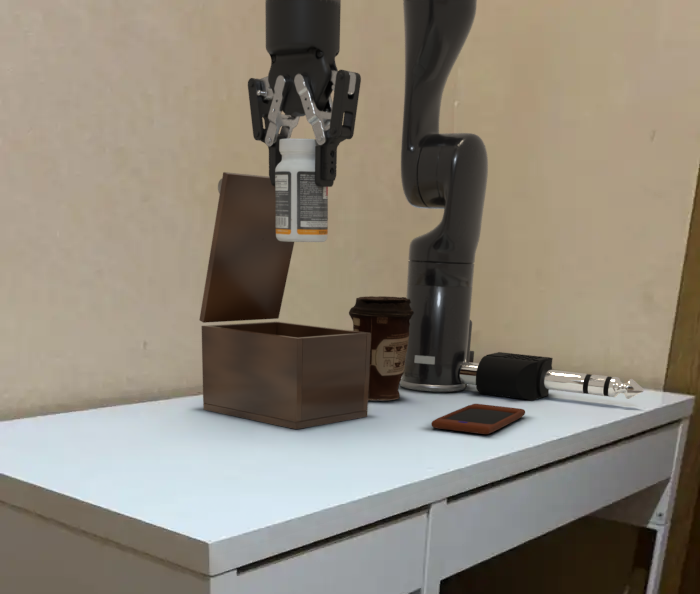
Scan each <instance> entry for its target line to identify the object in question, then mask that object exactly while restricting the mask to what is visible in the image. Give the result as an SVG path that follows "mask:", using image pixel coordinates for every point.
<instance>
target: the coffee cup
mask: <svg viewBox="0 0 700 594" xmlns="http://www.w3.org/2000/svg"><path fill="white" fill-rule="evenodd" d="M410 303H411V301H410V299H407V298H406V297H405V296H381V295H379V296H373V295H371V296H370V295H369V296H359V297H356V299H355V303H354V305H353V306H352V307H350V309H349V311H348V315H349V317H350V318H351V320H352V331H359V332H368V333H371V345H370V367H369V390H368V401H392V400H393V401H394V400H398V399H400V396H401V394H400V391H399V387H400V385H401V378H402V375H403V372H404V365H405V358H406V353H407V347H408V339H409V326H410V323H409V320H410V319H411V317H412V315H413V314H414V312H413V310H412V309H411V307H410Z"/></svg>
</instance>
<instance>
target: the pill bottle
mask: <svg viewBox="0 0 700 594" xmlns="http://www.w3.org/2000/svg"><path fill="white" fill-rule="evenodd" d="M315 146H319V144H318V143H317V141H316V138H295V137H294V138H292V137H290V139H280V141H279V151H280V154H281V155H282V161H281V162H280V163H279V164H278V165H277V166H276V169H275V195H276V238H277V239H278V240H279V241H287V242H294V243H325V242H326V241H327V240H328V236H329V235H328V234H329V233H328V232H329V229H328V228H329V194H328V193H329V187H321V186H316V184H315Z"/></svg>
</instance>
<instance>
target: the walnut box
mask: <svg viewBox="0 0 700 594" xmlns="http://www.w3.org/2000/svg"><path fill="white" fill-rule="evenodd" d="M370 345H371V333H368V332H359V331H353V330H350V329H343V328H336V327H335V328H333V327H326V326H319V325H318V326H317V325H309V324H301V323H294V322H293V323H292V322H286V321H285V322H284V321H276V320H275V321H261V322H242V323H241V322H240V323H228V324H227V323H226V324H209V325H208V324H207V325H201V362H202V363H201V364H202V365H201V366H202V406H203V407H202V409H203V411H207V412H213V413H218V414H222V415H228V416H231V417H237V418H241V419H245V420H246V419H247V420H251V421H254V422H260V423H265V424H268V425H269V424H270V425H275V426H278V427H283V428H288V429H293V430H300V429H305V428H311V427H316V426H322V425H328V424H334V423H340V422H346V421H350V420H351V421H352V420H356V419H362V418H367V417H368V410H369V409H368V408H369V400H368V390H369V367H370Z"/></svg>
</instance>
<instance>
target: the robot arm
mask: <svg viewBox="0 0 700 594" xmlns="http://www.w3.org/2000/svg"><path fill="white" fill-rule="evenodd" d="M264 3H265V7H264V8H265V9H264V10H265V12H264V13H265V50H266V52H267V53H268V55H269V56H270V61H271V62H270V68H269V71H268V74H267V76H264V77H261V78H254V77H250V78H249V79H248V80H247V91H248V92H247V93H248V101H249V109H250V118H251V119H250V120H251V126H252V135H253V139H254V140H255V141H259V142H261V143H264V144H265V145H266V146H267V148H268V177H270V180H271V184H272V185H273V186H275V169H276V166H277V165H278V164H279V163H280V162H281V161H282V155H281V154H280V151H279V141H280V139H291V138H292V133H293V130H294V129H295V128H296V127H297V126H298V125H299V121H300V118H301V117H305V118H306V121H307V123H308V124H310V125H311V127H312V132H313V135H314V139H316V141H317V143H318V144H319V146H315V184H316V186H321V187H328V188H332V187H333V186H334V183H335V181H336V178H337V163H338V161H337V160H338V146H340V144H341V143H342V142H344V141H346V140H352V138H353V137H354V134H355V128H356V118H357V112H358V105H359V97H360V91H361V83H362V77H361V74H360V73H359V72H355V71H351V70H345V69H339V70H338V67H337V63H336V57H337V56H338V55H339V53H340V51H341V49H340V46H341V10H342V9H341V8H342V7H341V6H342V5H341V3H342V1H341V0H265V2H264ZM477 3H478V0H402V5H403V6H402V8H403V29H404V31H403V32H404V94H403V95H404V96H403V111H402V112H403V113H402V114H403V115H402V130H401V131H402V132H401V145H400V179H401V187H402V191H403V195H404V197H405V199H406V201H407V203H408V204H409V205H410V206H412V207H414V208H417V209H427V210H428V209H430V210H431V209H432V210H443V214H442V218H441V220H440V222H439V223H438V224H437V225H436V226H435V227H434V228H433V229H431V230H430V231H428V232H426V233H424V234H421V235H419V236H416V237H414V238H413V239H411V241H410V243H409V248H408V261H407V262H408V263H407V278H406V281H407V282H406V298H407V299H410V301H411V303H410V307H411V309H412V310H413V312H414V314H413V315H412V317H411V319H410V320H409V323H410V326H409V339H408V347H407V353H406V358H405V365H404V372H403V375H402V378H401V381H400V387H402V388H404V389H408V390H413V391H419V392H420V391H421V392H434V393H435V392H436V393H451V392H452V393H453V392H459V391H460V392H461V391H463V390H465V388H467V387H468V384H462V383H461V382H460V378H459V374H460V369H461V366H462V364H463V363H464V362H472V363H474V359H475V351H474V350H471V342H472V329H473V321H472V320H471V310H472V299H473V285H474V272H475V262H476V253H477V249H478V245H479V243H480V238H481V232H482V224H483V223H482V222H483V216H484V215H483V213H484V206H485V200H486V193H487V185H488V178H489V177H488V176H489V174H488V173H489V159H488V151H487V148H486V145H485V142H484V140H483V139H482V137H480V135H478V134H476V133H472V132H471V133H470V132H452V133H451V132H449V133H447V132H446V133H445V132H444V133H440V117H441V106H442V99H443V94H444V91H445V87H446V84H447V81H448V80H449V79H448V78H449V76H450V74H451V72H452V70H453V68H454V66H455V64H456V62H457V60H458V58H459V56H460V54H461V52H462V50H463V48H464V46H465V44H466V42H467V39H468V37H469V35H470V32H471V30H472V28H473V24H474V22H475V18H476V13H477V6H478V5H477ZM332 93H333V96H332ZM332 97H333V98H332ZM282 112H283V113H284V114H282Z"/></svg>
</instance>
